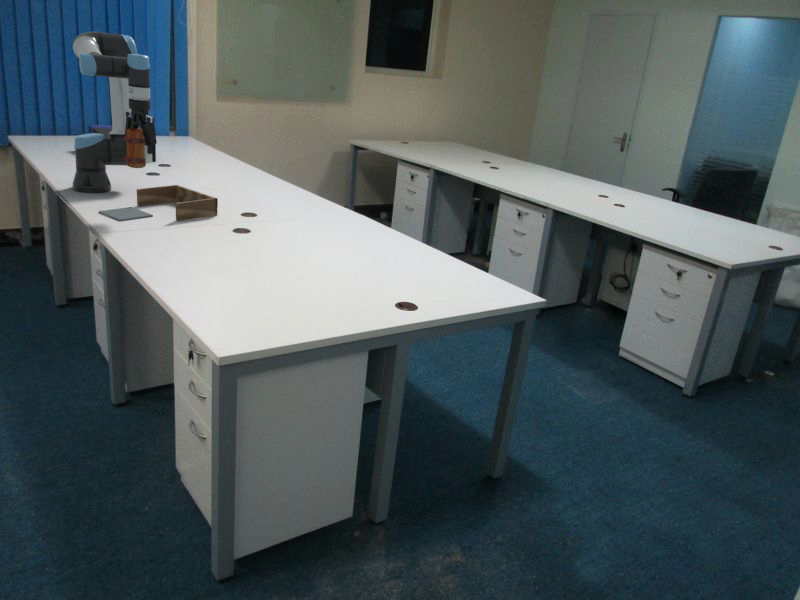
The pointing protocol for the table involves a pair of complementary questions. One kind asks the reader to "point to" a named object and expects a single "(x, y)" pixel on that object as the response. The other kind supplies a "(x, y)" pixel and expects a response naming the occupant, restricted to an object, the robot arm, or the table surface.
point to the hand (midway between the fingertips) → (141, 159)
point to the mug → (135, 148)
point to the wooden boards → (189, 201)
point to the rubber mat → (125, 214)
